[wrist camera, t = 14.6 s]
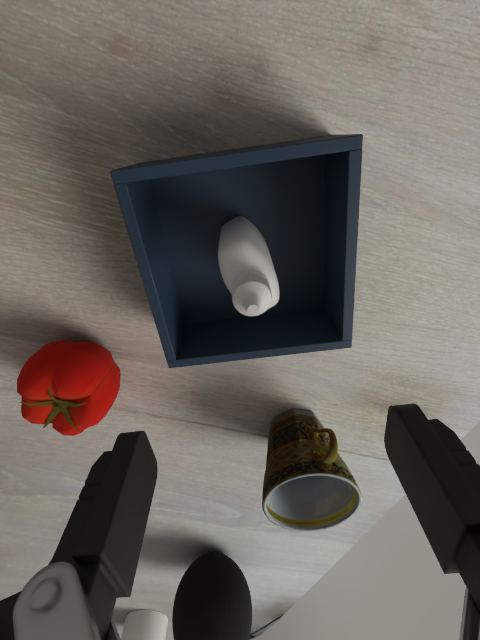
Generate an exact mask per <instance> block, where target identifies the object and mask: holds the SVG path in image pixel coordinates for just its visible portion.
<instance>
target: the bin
mask: <svg viewBox="0 0 480 640" xmlns="http://www.w3.org/2000/svg"><path fill="white" fill-rule="evenodd" d="M362 140H363V135H362V134H352V135H328V136H321V137H314V138H308V139H301V140H294V141H287V142H280V143H273V144H266V145H260V146H253V147H246V148H239V149H232V150H225V151H218V152H212V153H205V154H198V155H191V156H184V157H177V158H170V159H164V160H157V161H150V162H143V163H137V164H134V165H130V166H126V167H123V168H119V169H115V170H112V171H110V173H111V176H112V179H113V183H114V184H115V185H114V187H115V190H116V193H117V197H118V200H119V203H120V207H121V210H122V213H123V217H124V220H125V223H126V227H127V230H128V233H129V237H130V240H131V243H132V247H133V250H134V253H135V257H136V260H137V263H138V267H139V270H140V273H141V277H142V280H143V283H144V287H145V290H146V293H147V297H148V300H149V303H150V307H151V310H152V313H153V317H154V320H155V323H156V327H157V330H158V333H159V337H160V340H161V343H162V347H163V350H164V353H165V357H166V360H167V363H168V366H169V368H175V367H183V366H192V365H201V364H210V363H219V362H227V361H236V360H245V359H254V358H263V357H271V356H280V355H289V354H298V353H307V352H316V351H324V350H333V349H342V348H351V346H352V329H353V311H354V292H355V274H356V255H357V237H358V218H359V199H360V181H361V162H362ZM237 216H243V217H245V218H246V219H248V220H249V221H250V222H251V223H252V224H253V225H254V226H255V227H256V228H257V229H258V230H259V232H260V233H261V235H262V236H263V238H264V240H265V242H266V244H267V247H268V250H269V253H270V256H271V259H272V263H273V266H274V269H275V273H276V276H277V280H278V284H279V301H278V303H277V304H276V305H274V306H273V307H271V308H269V309H267V310H266V311H265V312H264V313H262V314H260V315H257V316H246V315H243V314H241V313H239V311H238V310H236V308H235V307H234V305H233V302H232V294H231V293H230V291H229V290H228V288H227V286H226V284H225V282H224V280H223V277H222V274H221V271H220V267H219V261H218V247H219V239H220V232H221V227H222V226H223V225H224V224H225V223H227V222H228V221H230V220H232V219H233V218H235V217H237Z"/></svg>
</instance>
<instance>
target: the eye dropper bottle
mask: <svg viewBox="0 0 480 640" xmlns="http://www.w3.org/2000/svg"><path fill="white" fill-rule="evenodd" d="M218 261H219V267H220V271H221V274H222V277H223V280H224V282H225V284H226V286H227V288H228V290H229V291H230V293H231V294H232V302H233V305H234V307H235V308H236V310H238V311H239V313H241V314H243V315H246V316H257V315H260V314H262V313H264V312H265V311H266V310H267V309H269V308H271V307H273V306H274V305H276V304H277V303H278V301H279V284H278V280H277V276H276V273H275V269H274V266H273V263H272V259H271V256H270V253H269V250H268V247H267V244H266V242H265V240H264V238H263V236H262V235H261V233H260V232H259V230H258V229H257V228H256V227H255V226H254V225H253V224H252V223H251V222H250V221H249V220H248V219H246V218H245V217H243V216H237V217H235V218H233V219H232V220H230V221H228V222H227V223H225V224H224V225H223V226H222V227H221V232H220V239H219V247H218Z"/></svg>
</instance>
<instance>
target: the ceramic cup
mask: <svg viewBox="0 0 480 640" xmlns="http://www.w3.org/2000/svg"><path fill="white" fill-rule="evenodd" d="M360 503H361V492H360V490H359V488H358V486H357V484H356V482H355V480H354V478H353V476H352V474H351V472H350V471H349V469H348V467H347V465H346V464H345V463H344V461H343V460H342V458H341V457H340V455H339V454H338V445H337V439H336V436H335V433H334V432H333V431H332V430H331V429H328V428H324V426H323V425H322V423H321V422H320V421H319V419H318V418H317V417H316V415H315V414H314V413H313V412H312V411H308V410H300V409H291V410H289V411H287V412H285V413H283V414H281V415H279V416H277V417H275V419H274V420H273V423H272V426H271V429H270V432H269V439H268V451H267V462H266V471H265V476H264V485H263V502H262V507H263V511H264V513H265V515H266V517H267V518H268V519H269V520H270V521H271V522H273V523H274V524H276V525H278V526H280V527H283V528H286V529H289V530H295V531H316V530H322V529H326V528H330V527H333V526H336V525H338V524H340V523H342V522H344V521H345V520H347V519H348V518H350V517H351V516H352V515H353V514H354V513H355V512H356V511H357V509H358V508H359V506H360Z"/></svg>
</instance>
